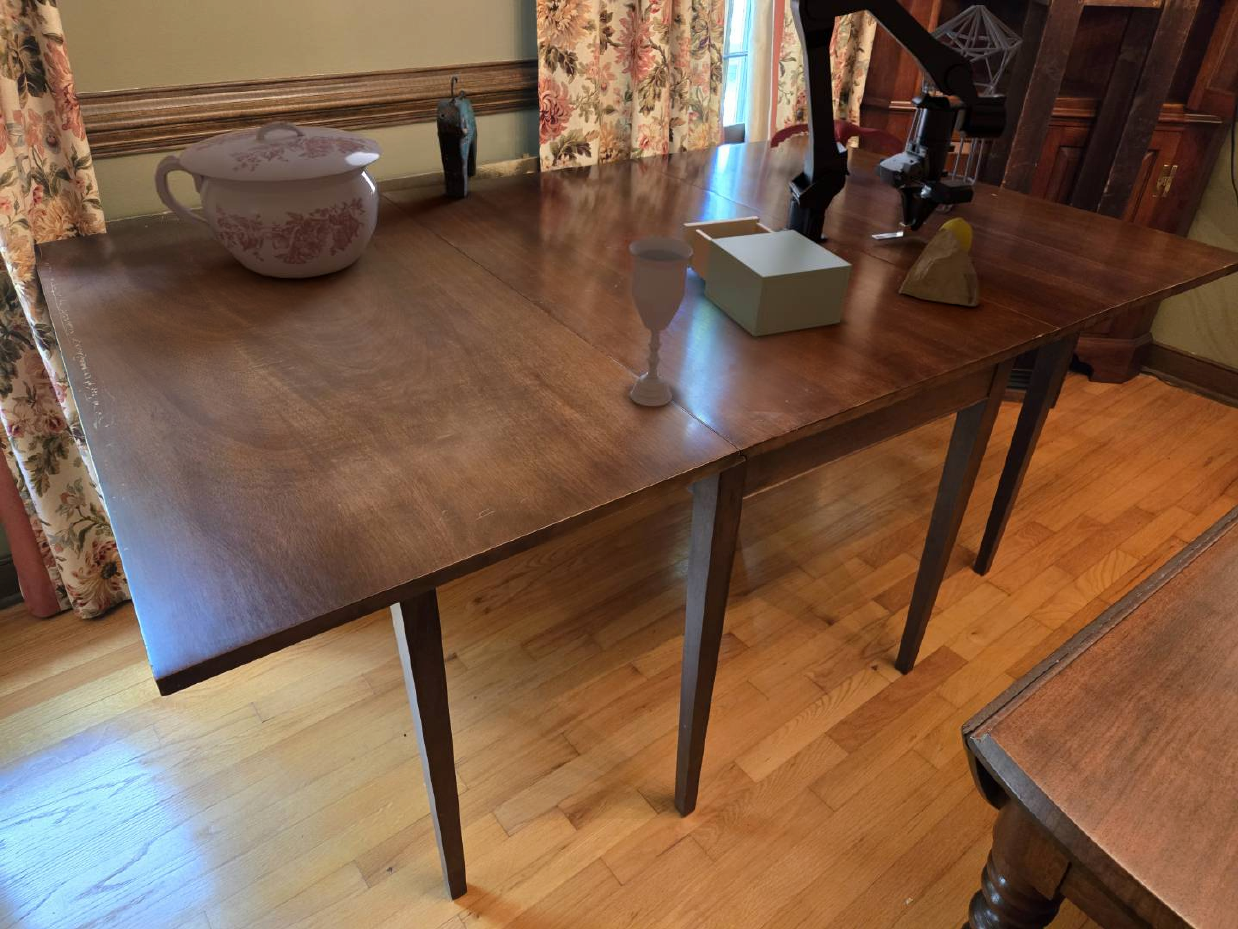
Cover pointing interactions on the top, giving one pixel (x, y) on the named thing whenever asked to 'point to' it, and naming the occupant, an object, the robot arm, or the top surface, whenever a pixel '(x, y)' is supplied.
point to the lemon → (960, 231)
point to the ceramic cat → (457, 141)
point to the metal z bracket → (901, 232)
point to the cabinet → (776, 282)
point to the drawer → (716, 237)
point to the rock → (943, 273)
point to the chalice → (657, 304)
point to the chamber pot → (282, 196)
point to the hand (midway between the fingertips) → (910, 229)
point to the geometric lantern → (946, 29)
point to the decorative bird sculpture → (844, 135)
